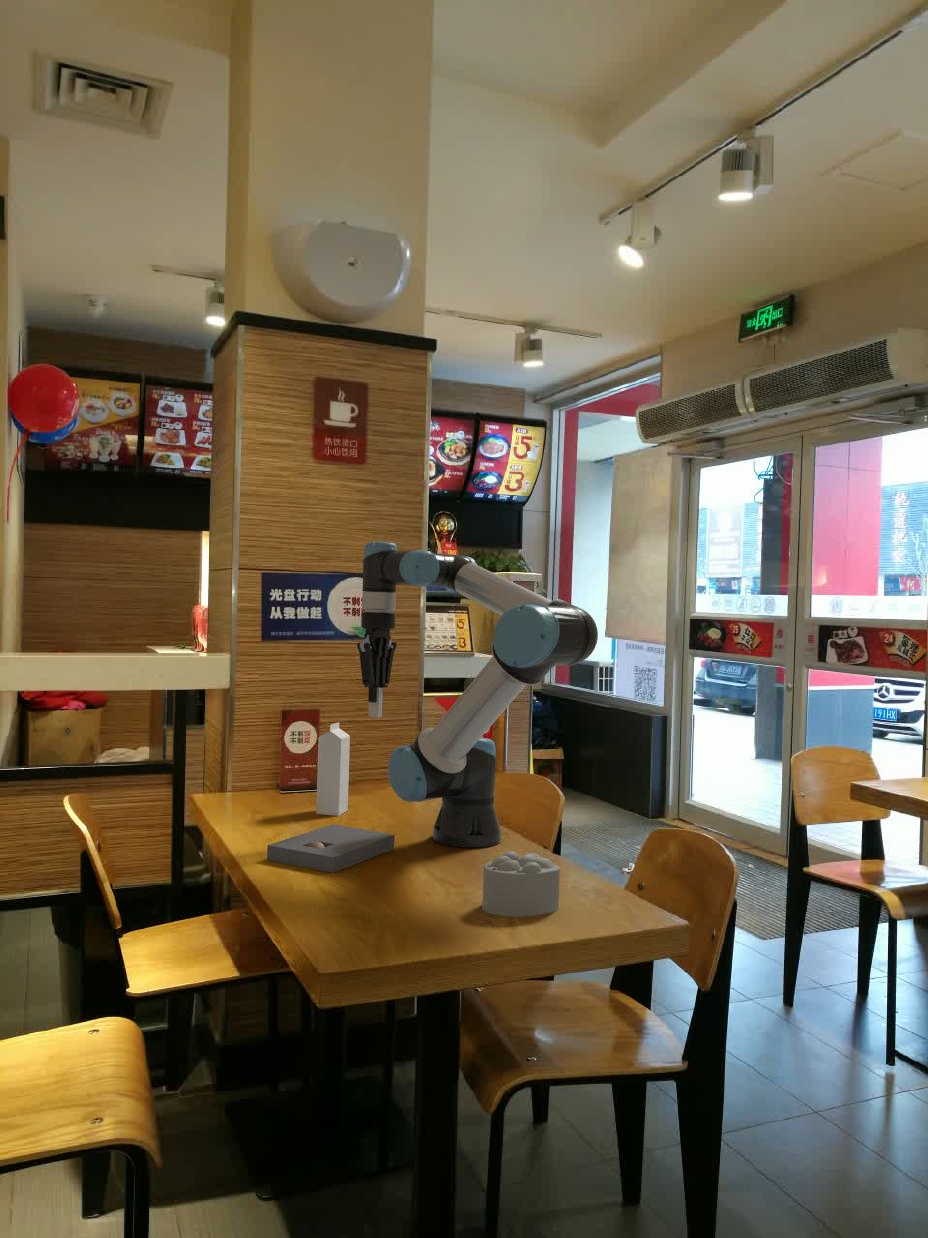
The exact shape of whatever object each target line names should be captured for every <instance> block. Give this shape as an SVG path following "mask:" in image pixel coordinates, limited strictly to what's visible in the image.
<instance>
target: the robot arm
mask: <svg viewBox="0 0 928 1238" xmlns="http://www.w3.org/2000/svg"><path fill="white" fill-rule="evenodd" d="M397 586H414V587H416V586H417V587H434V588H446V589H448V590H451V591H453V592H455V593H457V594H459V595H461V596H463V597H465V598H466V599H469V601H470V600H471V601H473V602H474V603H476V604H478V605H480V606H482V607H484V608H485V609H487V610H490V611H492V612H493V613H495V614H497V615H500V617H499V618H498V621H497V622H496V625H495V627H494V629H493V631H494V634H495V636H492V637H493V638H492V646H491V651H490V652H491V655H492V657H491V658H490V659H489V660H488V662H487V663H486V664H485V665H484V667H483V668H482V669H481V670H480V671H479V673H478V674H477V675H476V677H474V678H473V680H472V681H471V682H470V683H469V685H468V686H467V687H466V688H465V690H464V691H463V692H462V693H461V695H460V696H459V697H458V698H457V700H456V701H455V702H454V703H453V704H452V705H451V707H450V708H449V709H448V711H447V712H446V713H445V714H444V715H443V717H442V718H441V719H440V721H438V723H437V724H436V725H435V726H434V727H428V728H427V727H426V728H425V729H423V730H422V731H421V732H420V733H419V734H418V735H417V737H416V738H415V739H414V740H413V742H412V743H411V744H409V745H401V746H399V747H396V748H394V750H392V752H391V754H390V756H389V758H388V762H387V763H388V764H387V772H388V773H387V775H388V780H389V783H390V786H391V788H392V790H393V792H394V793H395V794H396V796H397V797H398V798H399V799H401V800H402V801H405V802H408V803H414V802H415V803H420V802H421V803H422V802H424V801H430V800H435V799H441V804H440V805H441V806H440V808H439V810H438V814H437V816H436V819H435V823H434V825H433V828H432V840H433V841H435V842H436V843H438V844H442V845H445V846H450V847H457V848H459V847H460V848H484V847H485V848H486V847H489V846H490V847H491V846H494V845H497V844H500V843H501V840H502V829H501V827H500V826H501V825H500V822H499V819H498V815H497V811H496V808H495V792H496V769H497V768H496V766H497V765H496V764H497V754H496V753H497V752H496V751H497V750H496V744H495V742H494V740H492V739H491V738H487V737H486V738H485V737H483V736H484V735H485V734H486V733H487V731H488V730H489V729H490V727H491V726H492V725H494V723H495V722H496V721H497V720H498V718H500V716H501V715H502V714H503V713H504V712H505V710H506V709H507V708H508V707H509V706H510V705H511V703H512V702H514V700H515V699H516V698H517V697H518V695H519V694H520V693H522V691H523V690H524V688H525V687H526V686H537V684H539V683H540V682H541V681H542V680H543V679H544V677H546V675H547V674H548V673H549V672H550V671H551V670H552V669H553V668H554V667H560V666H574V665H577V664H578V665H579V663H582V662H584V661H585V660H586V659H588V658H589V657H590V656H591V655H592V653H593V652H594V650H595V648H596V646H597V644H598V638H599V632H598V626H597V624H596V621H595V620H594V618H593V617H592V615H591V614H590V613H589V612H587V611H586V610H584V609H583V608H581V607H579V606H576V605H574V604H572V603H569V602H567V601H565V600H562V599H557V598H556V599H554V600H551V599H549V598H547V597H545V596H543V595H541V594H538V593H536V591H535V592H534V591H533V590H530V589H529V588H525V587H524V586H522V585H520V584H517V583H515V582H514V581H512V580H510V579H507V578H505V577H503V576H501V575H500V574H496V573H494V572H492V571H490V570H488V569H486V568H485V567H481V566H480V565H478V563H477V562H476V561H475V559H474V558H473V557H470V556H466V555H462V554H458V553H457V554H454V553H453V554H452V553H451V554H450V553H439V552H438V553H437V552H432V551H429V550H423V549H413V550H398V546H397V544H396V543H394V542H386V541H376V542H375V541H369V542H367V543H365V544H364V549H363V558H362V586H361V587H362V596H361V608H362V610H364V611H363V612H361V620H360V624H361V625H360V627H361V628H362V629H364V630H365V631H364V632H365V633H364V636H363V639H364V640H363V641H362V642H358V643H356V646H357V650H358V654H359V660H360V670H361V682H362V685H363V687H365V688H368V713H367V714H368V715H367V716H368V717H369V718H370V717H371V718H382V717H383V701H384V700H383V699H384V697H383V696H384V688H388V687H389V684H390V681H391V680H390V679H391V674H392V673H391V672H392V668H393V667H392V666H393V663H394V662H393V661H394V655H395V651H396V648H397V644H398V643H397V642H396V641H392V637H391V636H392V635H391V632H390V631H391V630H394V629H395V627H396V614H395V613H393V612H394V611H395V610H396V606H397V604H396V597H397V595H396V594H397Z"/></svg>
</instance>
